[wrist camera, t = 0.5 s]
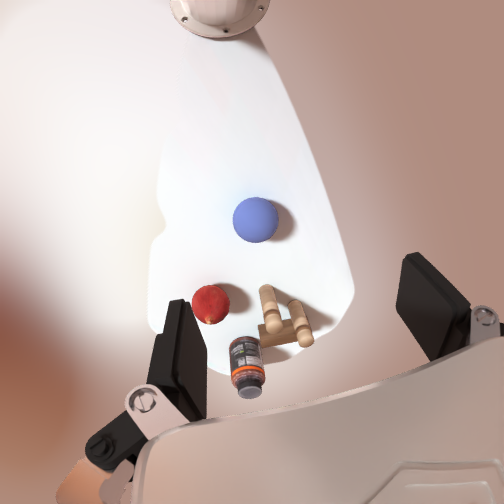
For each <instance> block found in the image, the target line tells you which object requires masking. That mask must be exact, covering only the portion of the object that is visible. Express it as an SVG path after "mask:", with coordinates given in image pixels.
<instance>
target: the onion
mask: <svg viewBox="0 0 504 504" xmlns="http://www.w3.org/2000/svg"><path fill="white" fill-rule="evenodd" d="M229 306H230V301H229V298H228V296H227V294H226V293H225V292H224V291H223V290H222V289H221V288H219V287H217V286H213V285H207V286H203V287H202V288H200V289H198V290H197V291H196V293H195V294H194V296H193V298H192V310H193V312H194V314H195V316H196V317H197V318H198V319H199V320H200V321H201V322H203V323H205V324H217V323H219V322H221V321H222V320H223V319H224V318H225V317H226V316H227V314H228V312H229Z"/></svg>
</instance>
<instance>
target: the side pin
mask: <svg viewBox="0 0 504 504" xmlns="http://www.w3.org/2000/svg"><path fill="white" fill-rule="evenodd" d="M288 309H289V312H290V316H291V319H292V322H293V326H294V329H295V333H296V337H297V339H298V342H299V345H300V346H301V347H304V348H305V347H309V346H311V345H312V344H313V342H314V338H313V335H312V331H311V328H310V326H309V324H308V321H307V318H306V315H305V313H304V310H303V307H302V304H301V302H300V301H298V300H294V301H291V302H290V303H289V304H288Z"/></svg>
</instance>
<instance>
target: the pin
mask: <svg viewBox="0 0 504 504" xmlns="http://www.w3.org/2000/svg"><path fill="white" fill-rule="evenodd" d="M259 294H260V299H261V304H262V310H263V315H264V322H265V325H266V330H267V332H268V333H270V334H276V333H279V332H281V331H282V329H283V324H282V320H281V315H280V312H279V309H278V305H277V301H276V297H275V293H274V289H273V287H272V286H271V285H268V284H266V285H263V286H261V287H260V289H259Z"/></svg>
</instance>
